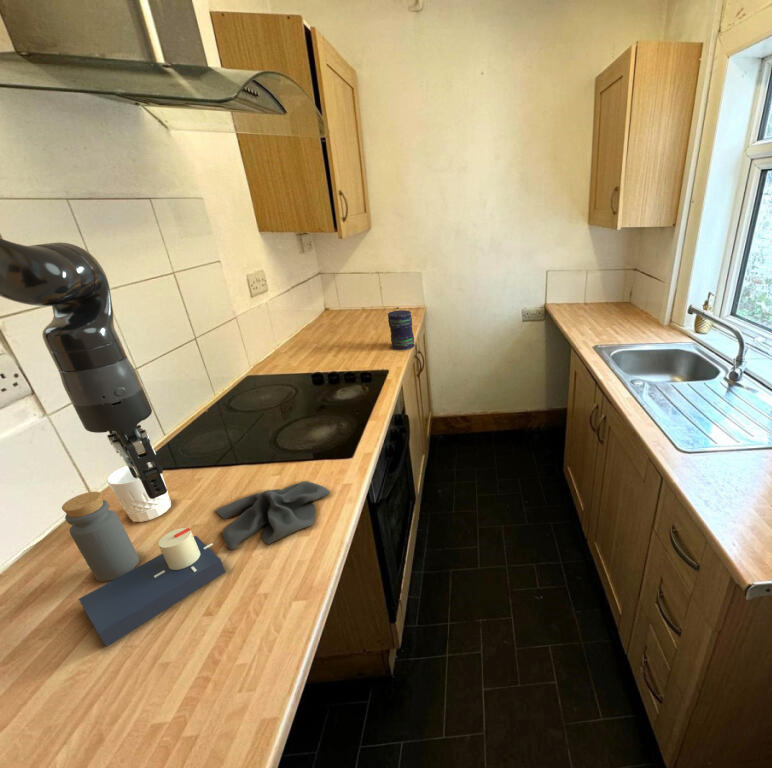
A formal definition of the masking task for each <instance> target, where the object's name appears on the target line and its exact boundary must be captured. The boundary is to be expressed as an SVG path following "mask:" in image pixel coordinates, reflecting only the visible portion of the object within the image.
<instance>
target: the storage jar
mask: <svg viewBox="0 0 772 768" xmlns="http://www.w3.org/2000/svg"><path fill="white" fill-rule="evenodd" d="M395 309H397V310H393V311H390V312H388V313H387V319H388V327H389V330H390V342H391V348H392V349H393V350H395V351H407V350H411V349H413V348H414V347H415V336H414V335H415V334H414V331H413V318H412V312H411V311H410V310H406V309H405V310H403V309H402V310H401V309H400V307H399V306H397V307H395ZM398 309H400V310H398Z"/></svg>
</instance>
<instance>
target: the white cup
mask: <svg viewBox="0 0 772 768" xmlns="http://www.w3.org/2000/svg"><path fill="white" fill-rule="evenodd" d="M147 464H148V467H149V468H150V467H153V466H152V465H151V463H150V462H149V463H147ZM160 475H161V477H162V480H163V482H164V484H165V486H166V489H167V492H166V493H165V494H163V495H161V496H159V497H156V498H154V499H150V498H149V497H148V495H147V493H146V491H145V488H144V486H143V484H142V482H141V480H140V479H139V478H134V477H133V476H132V474H131V472H130V470H129V468H128V466H127V465H124V466H122V467H119V468H118V469H116V470H115V471H113V472H112V473H110V475H108V477H107V479H106V482H107V484H108V485H109V487H110V489H111V490H112V492H113V494H114V496H115V497H116V499H117V501H118V502H119V504H120V505H121V507H122V508H123V510H124V511H125V512H126V515H127V516H128V517H129V519H130V520H131V521H132V522H134V523H144V522H148V521H151V520H154V519H156V518H158V517H160V516H163V514H165V513H166V512H168V510H169V509H170V508H171V507H172V500H171V498H170V495H169V491H168V488H167V485H166V481H165V479H164V475H163V473H161V474H160Z"/></svg>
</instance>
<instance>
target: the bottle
mask: <svg viewBox="0 0 772 768" xmlns="http://www.w3.org/2000/svg"><path fill="white" fill-rule="evenodd" d="M61 510H62V512H64V513H65V517H64V519H65V521H66V523H67V524H69V525H71V526H70V528H69V534H70V536H71V539H72V540H73V542H74V543H75V546H76V547H77V548H78V550H79V552H80V553H81V556H82V558H83V559H84V560H85V562H86V564H87V566H88V567H89V569H90V571H91V573H92V574H93V576H94V578H95V580H97V581H98V582H101V583H102V582H103V583H104V582H111V581H113V580H114V579H116V578H118V577H120V576H122V575H124V574H126V573H127V572H129V571H131V570H133V569H135V568H137V566H138V564H139V562H140V557H139V555H138V553H137V551H136V549H135V547H134V544H133V543H132V541H131V538H130V537H129V534H128V532H127V531H126V528H125V526H124V525H123V524H122V521H121V519H120V517H119V515H118V513H117V512H116V511H115V510H111V509H110V504H109V503H108V501H107V500H106V499H103V494H102V492H100V491H89V492H84V493H81V494H79V495H75V496H74V497H71V498H69V499H68V500H67V501H66V502H64V503H63V505H62V506H61Z"/></svg>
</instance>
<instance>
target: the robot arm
mask: <svg viewBox="0 0 772 768" xmlns="http://www.w3.org/2000/svg"><path fill="white" fill-rule="evenodd" d="M106 274H107V273H106V272H105V270H104V268H103V267H102V265H101V264H100V263H99V261H98V260H97V259H96V258H95V257H94V255H92V254H91V253H90V252H89V251H88V250H86V249H85V248H83V247H81V246H78V245H76V244H74V243H69V242H49V243H48V242H47V243H40V244H32V245H26V244H20V243H16V242H12V241H9V240H6V239H4V238H3V236H2V234H1V233H0V297H1V298H4V299H6V300H9V301H12V302H16V303H19V304H23V305H29V306H34V307H51V308H52V314H53V317H52V320H51V322H50V323H48V324H47V325H46V326H45V327H44V328H43V330H42V334H41V335H42V336H41V337H42V339H43V343H44V345H45V347H46V350H47V351H48V353H49V355H50V357H51V359H52V361H53V363H54V365H55V367H56V369H57V372H58V373H59V376H60V380H61V384H62V386H63V389H64V391H65V392H66V395H67V397H68V398H69V401H70V402H71V404H72V406H73V408H74V410H75V412H76V414H77V416H78V418H79V421H80V422H81V424H82V426H83V429H85V430H86V432H90V433H95V434H101V433H102V434H103V433H108V434H106V438H107V440H108V441H109V444H110V445H111V446H112V448H113V449H114V451H115V452H116V454H119V456H120V457H121V458H122V460H123V462H124V463H125V466H128V468H129V470H130V472H131V474H132V476H133V477H134V478H139V479H140V480H141V482H142V484H143V486H144V488H145V491H146V493H147V495H148V497H149V498H150V499H154V498H156V497H159V496H161V495H163V494H165V493H166V492H167V491H168V488H167V485H166V486H165V484H166V483H165V484H164V482H163V480H162V477H161V475H160V474H161V473H162V474H163V473H164V472H163V471H164V469H163V467H161V464H160V462H159V460H158V458H157V453H156V451H155V449H154V447H153V445H152V443H151V440H150V436H149V434H148V431H147V430H146V429H143V427H142V425H141V422H143V421H145V420H147V419H148V418H149V417H150V416H151V415H152V412H153V408H152V406H151V404H150V402H149V399H148V397H147V395H146V392H145V390H144V387H143V385H142V382H141V380H140V378H139V375H138V373H137V371H136V369H135V367H134V366H133V364H132V362H131V361H130V360H129V357H128V356H127V353H126V350H125V348H124V345H123V343H122V341H121V339H120V336H119V334H118V332H117V330H116V328H115V321H114V307H113V301H112V300H113V299H112V295H111V293H112V292H111V288H110V284H109V283H110V282H109V280H108V277H107V275H106ZM149 462H150V463H151V465H152V466H153V467H150V468H149V467H148V464H147V463H149ZM166 488H167V489H166Z"/></svg>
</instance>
